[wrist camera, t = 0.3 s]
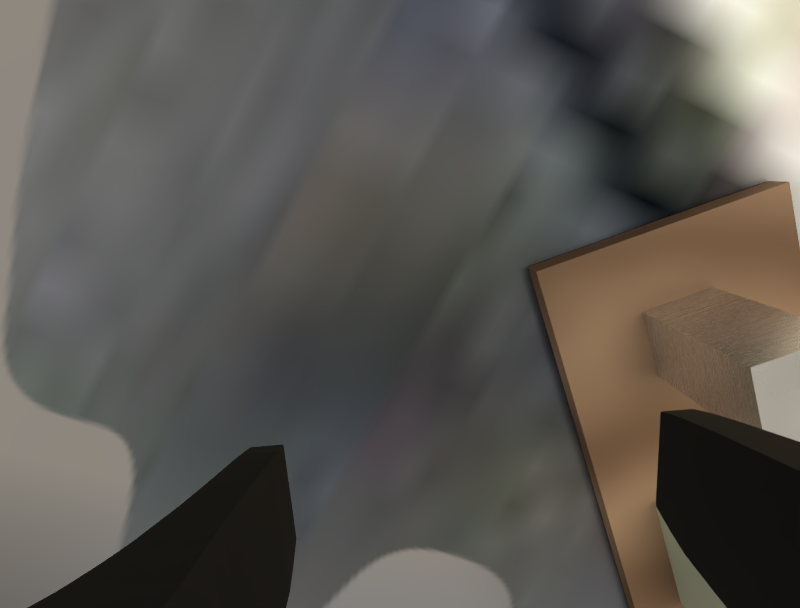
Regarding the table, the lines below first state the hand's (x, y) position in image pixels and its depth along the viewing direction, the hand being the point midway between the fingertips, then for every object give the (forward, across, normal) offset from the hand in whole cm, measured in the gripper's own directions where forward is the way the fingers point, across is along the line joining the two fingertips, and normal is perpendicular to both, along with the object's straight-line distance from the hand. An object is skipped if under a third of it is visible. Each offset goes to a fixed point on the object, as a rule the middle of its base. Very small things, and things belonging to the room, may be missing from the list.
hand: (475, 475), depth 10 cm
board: (+10, -10, +5) cm, 15 cm away
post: (+9, -9, +1) cm, 13 cm away
